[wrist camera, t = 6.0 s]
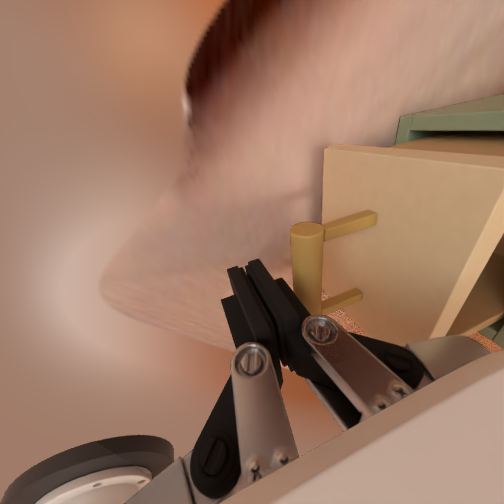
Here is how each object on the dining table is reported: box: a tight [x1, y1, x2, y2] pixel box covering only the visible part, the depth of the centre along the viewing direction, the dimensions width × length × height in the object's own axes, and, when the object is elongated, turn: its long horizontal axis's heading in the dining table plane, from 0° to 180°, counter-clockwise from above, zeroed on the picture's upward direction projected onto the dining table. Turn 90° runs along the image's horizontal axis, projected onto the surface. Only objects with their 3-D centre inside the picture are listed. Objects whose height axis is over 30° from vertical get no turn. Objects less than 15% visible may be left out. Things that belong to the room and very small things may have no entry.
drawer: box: [290, 131, 504, 346], centre depth 12 cm, size 17×10×8 cm, turn 99°
